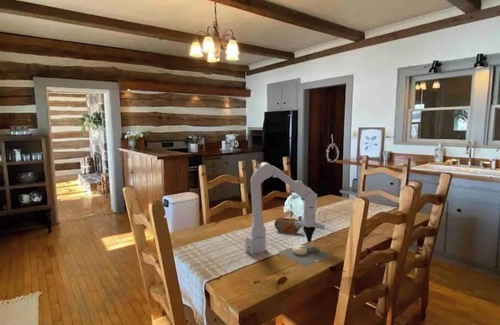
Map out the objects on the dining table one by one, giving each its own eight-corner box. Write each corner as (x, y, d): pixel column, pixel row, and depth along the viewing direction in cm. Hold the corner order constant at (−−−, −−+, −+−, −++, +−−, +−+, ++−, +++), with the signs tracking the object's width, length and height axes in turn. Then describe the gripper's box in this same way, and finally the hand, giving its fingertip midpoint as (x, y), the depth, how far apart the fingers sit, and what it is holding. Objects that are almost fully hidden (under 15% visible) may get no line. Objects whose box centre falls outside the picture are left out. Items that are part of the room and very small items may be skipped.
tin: (274, 230, 177) (274, 216, 176) (276, 229, 180) (276, 215, 179) (299, 234, 170) (299, 220, 169) (300, 232, 173) (300, 218, 172)
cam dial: (293, 255, 139) (293, 245, 138) (290, 249, 146) (290, 239, 145) (321, 254, 140) (322, 244, 139) (317, 248, 147) (317, 238, 146)
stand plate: (304, 269, 129) (304, 265, 129) (277, 254, 144) (277, 251, 144) (333, 258, 139) (333, 255, 138) (305, 246, 154) (305, 242, 154)
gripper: (292, 215, 146) (292, 241, 148) (322, 218, 140) (322, 246, 142) (296, 211, 153) (296, 237, 154) (325, 214, 146) (325, 241, 148)
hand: (309, 241), depth 148 cm, fingers closed
